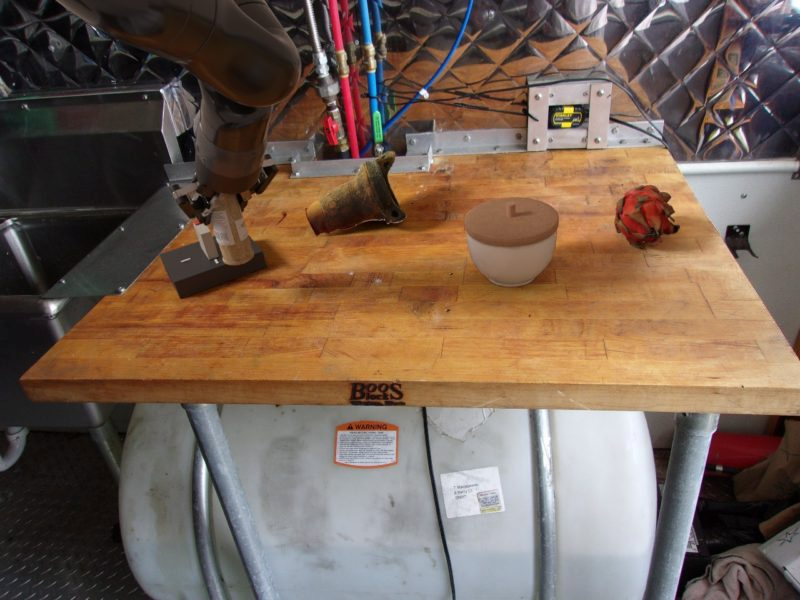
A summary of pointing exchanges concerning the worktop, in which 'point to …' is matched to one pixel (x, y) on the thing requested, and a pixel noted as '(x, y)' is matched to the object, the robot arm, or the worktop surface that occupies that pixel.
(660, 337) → the worktop surface
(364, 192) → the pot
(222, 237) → the sprinkles bottle
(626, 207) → the dragon fruit
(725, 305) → the worktop surface
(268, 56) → the robot arm
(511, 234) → the lidded bowl
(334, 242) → the worktop surface
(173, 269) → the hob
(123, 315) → the worktop surface
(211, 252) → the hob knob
